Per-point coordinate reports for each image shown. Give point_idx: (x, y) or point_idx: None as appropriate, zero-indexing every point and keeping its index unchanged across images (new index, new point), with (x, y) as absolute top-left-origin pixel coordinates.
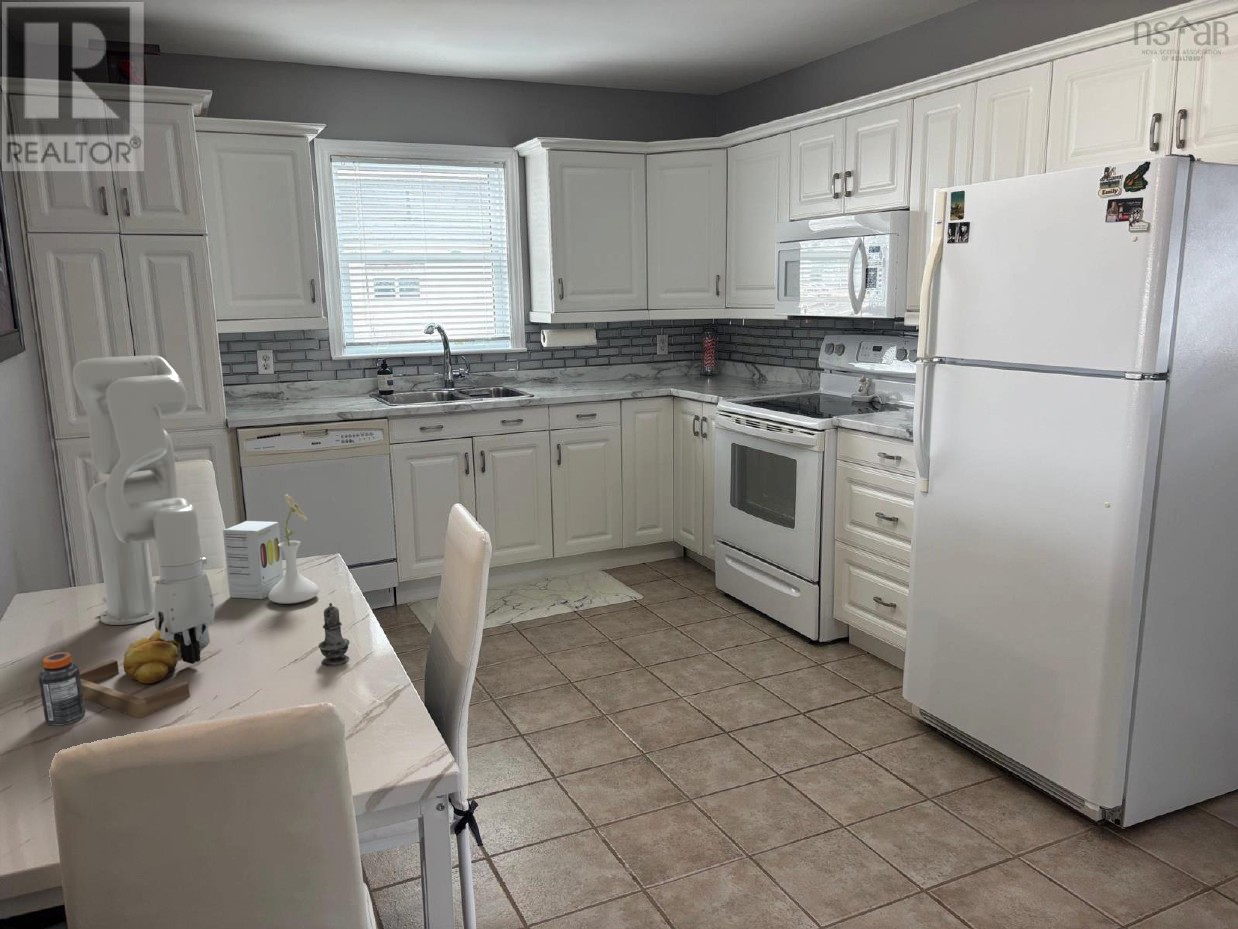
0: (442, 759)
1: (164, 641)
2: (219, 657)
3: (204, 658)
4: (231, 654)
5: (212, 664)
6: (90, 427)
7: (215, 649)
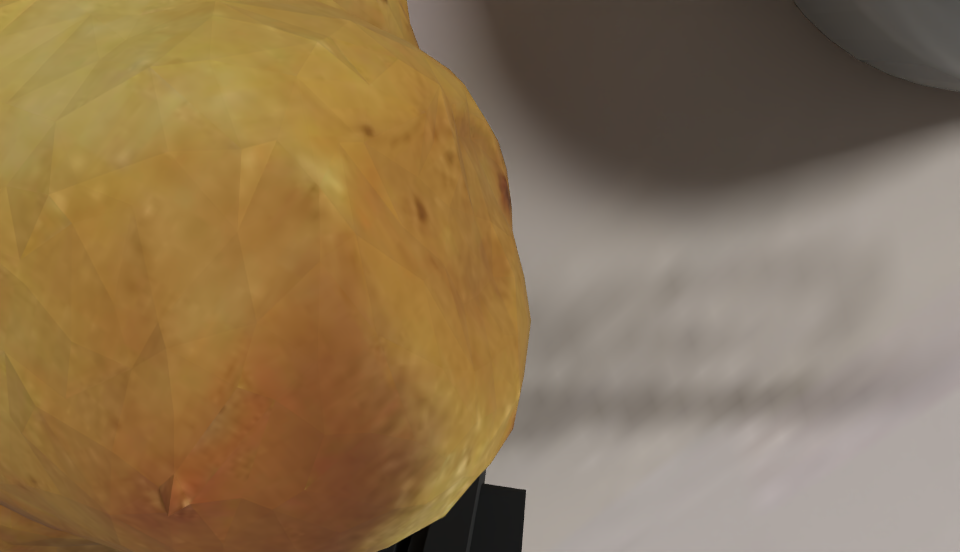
0: None
1: (29, 524)
2: (735, 497)
3: (669, 383)
4: (836, 548)
5: (572, 545)
6: None
7: (942, 306)
